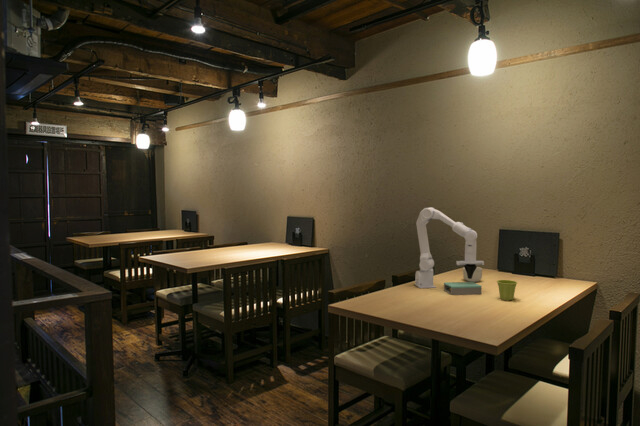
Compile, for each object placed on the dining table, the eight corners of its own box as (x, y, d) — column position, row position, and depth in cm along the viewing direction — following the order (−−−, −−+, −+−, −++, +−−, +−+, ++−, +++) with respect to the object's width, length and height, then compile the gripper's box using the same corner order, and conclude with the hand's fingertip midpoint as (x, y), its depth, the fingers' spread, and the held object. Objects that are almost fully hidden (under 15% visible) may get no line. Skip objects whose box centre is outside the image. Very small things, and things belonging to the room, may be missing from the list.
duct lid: (451, 288, 218) (451, 286, 218) (444, 283, 228) (444, 282, 228) (481, 287, 220) (481, 285, 220) (472, 283, 230) (472, 281, 230)
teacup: (484, 283, 246) (485, 269, 245) (465, 283, 246) (466, 269, 245) (476, 278, 260) (476, 265, 259) (458, 278, 260) (458, 265, 259)
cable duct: (451, 295, 218) (451, 288, 218) (443, 290, 228) (444, 283, 228) (481, 294, 220) (481, 287, 220) (472, 289, 230) (472, 283, 230)
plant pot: (495, 300, 209) (495, 282, 208) (497, 295, 217) (497, 278, 217) (516, 302, 204) (516, 284, 204) (517, 297, 213) (517, 280, 212)
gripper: (460, 254, 220) (459, 280, 221) (487, 254, 222) (486, 279, 223) (454, 252, 227) (454, 277, 228) (480, 252, 229) (479, 276, 230)
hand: (469, 278), depth 226 cm, fingers closed
